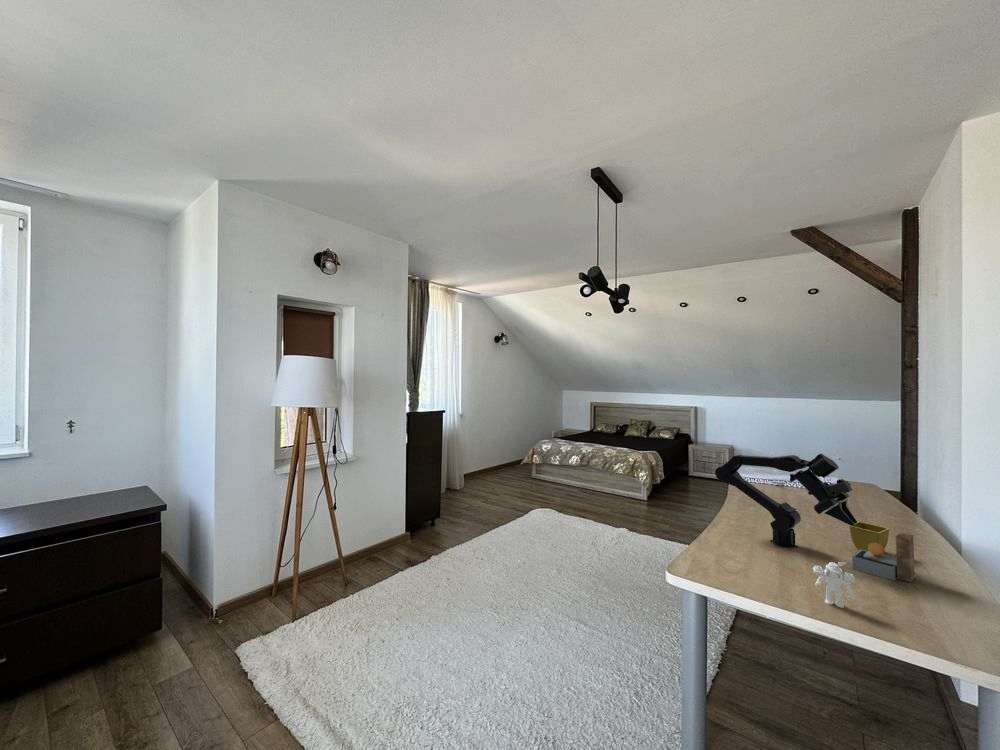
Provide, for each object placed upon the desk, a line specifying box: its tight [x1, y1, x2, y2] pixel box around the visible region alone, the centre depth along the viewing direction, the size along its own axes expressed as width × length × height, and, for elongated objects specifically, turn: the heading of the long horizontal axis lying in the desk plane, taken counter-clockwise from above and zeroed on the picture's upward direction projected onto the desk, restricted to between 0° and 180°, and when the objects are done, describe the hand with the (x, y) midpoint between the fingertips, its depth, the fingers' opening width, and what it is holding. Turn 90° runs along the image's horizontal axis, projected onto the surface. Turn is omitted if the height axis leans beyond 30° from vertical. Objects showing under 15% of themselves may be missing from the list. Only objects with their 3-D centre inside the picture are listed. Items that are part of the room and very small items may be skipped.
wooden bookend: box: [863, 532, 916, 583], centre depth 127 cm, size 11×6×13 cm, turn 36°
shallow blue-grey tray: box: [851, 549, 898, 581], centre depth 130 cm, size 10×10×4 cm
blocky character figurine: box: [812, 561, 856, 609], centre depth 110 cm, size 9×4×12 cm, turn 48°
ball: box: [868, 543, 886, 556], centre depth 130 cm, size 4×4×4 cm
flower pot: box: [848, 521, 890, 551], centre depth 145 cm, size 9×9×9 cm
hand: (854, 524), depth 134 cm, fingers open, 3 cm apart
